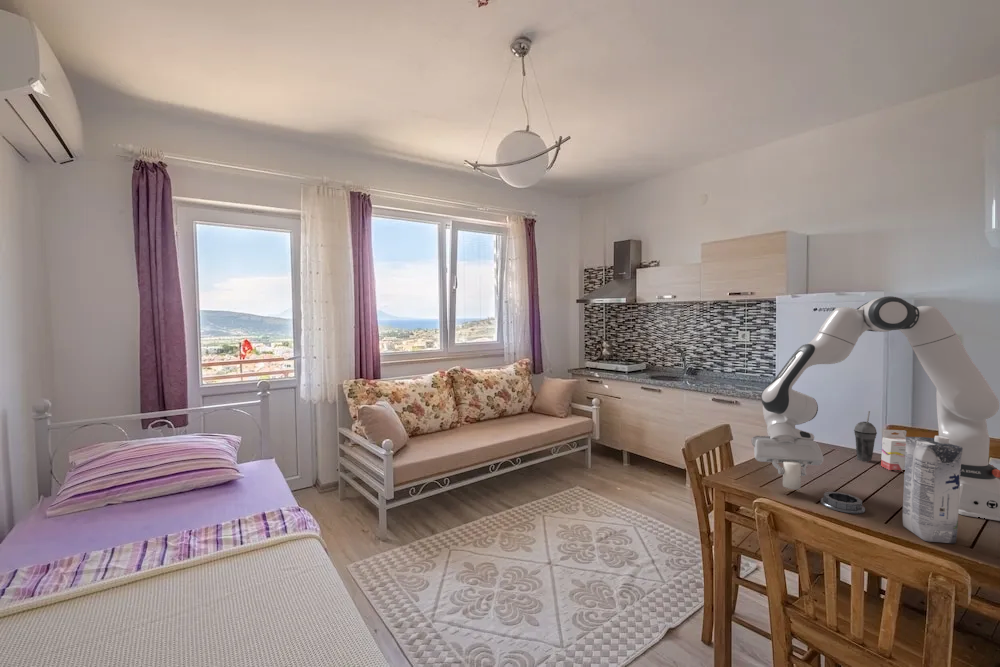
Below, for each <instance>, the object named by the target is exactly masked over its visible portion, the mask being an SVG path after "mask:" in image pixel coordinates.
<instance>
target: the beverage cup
mask: <svg viewBox="0 0 1000 667" xmlns="http://www.w3.org/2000/svg"><path fill="white" fill-rule="evenodd" d="M870 414H871V411H870V410H868V411H867V417H866V421H860V422H858V423H857V424H856V425H855V426H854V429H853V431H854V432H853V434H854V436H855V450H856V459H857V461H860V460H862V461H861V462H865V461H871V462H872V460H873V456H874V455H873V454H874V450H875V449H874V448H875V447H874V446H875V440H876V438H877V434H878V432H877V428H876V427H875V425H874V424H872V423H871V422H869V419H870Z"/></svg>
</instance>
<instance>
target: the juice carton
mask: <svg viewBox="0 0 1000 667" xmlns="http://www.w3.org/2000/svg"><path fill="white" fill-rule="evenodd" d="M949 440H950V439H949V438H947V437H942V436H939V435H934V437H926V436H925V437H924V436H906V452H905V472H903V473H904V475H903V497H902V498H903V500H902V526H903V527H904V528H905V529H906V530H908V531H910V532H911V533H913V534H914V535H915V536H917V537H918V538H919V539H921V540H922V541H925V542H931V543H941V544H942V543H944V544H956V543H957V540H958V539H957V537H958V528H959V527H958V526H959V513H958V511H959V492H960V473H961V456H962V449H963V448H962V447H960V446H957V445H953V444H949Z"/></svg>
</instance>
